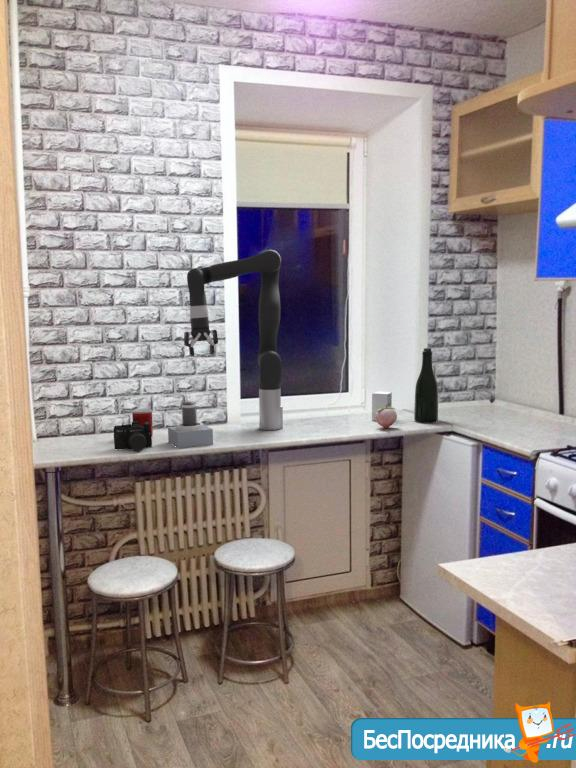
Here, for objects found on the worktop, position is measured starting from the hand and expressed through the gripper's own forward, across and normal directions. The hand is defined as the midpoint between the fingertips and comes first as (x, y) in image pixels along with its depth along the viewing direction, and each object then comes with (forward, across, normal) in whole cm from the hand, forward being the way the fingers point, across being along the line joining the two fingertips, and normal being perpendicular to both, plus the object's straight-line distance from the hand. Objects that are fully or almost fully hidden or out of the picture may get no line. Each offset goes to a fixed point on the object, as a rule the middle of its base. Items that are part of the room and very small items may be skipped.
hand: (202, 355), depth 284 cm
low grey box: (+32, -16, -22) cm, 42 cm away
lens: (+26, -16, -22) cm, 38 cm away
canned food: (+31, -28, -1) cm, 42 cm away
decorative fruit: (+36, +67, -35) cm, 84 cm away
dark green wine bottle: (+37, +92, -31) cm, 104 cm away
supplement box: (+36, +77, -18) cm, 87 cm away
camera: (+32, -38, -21) cm, 54 cm away
